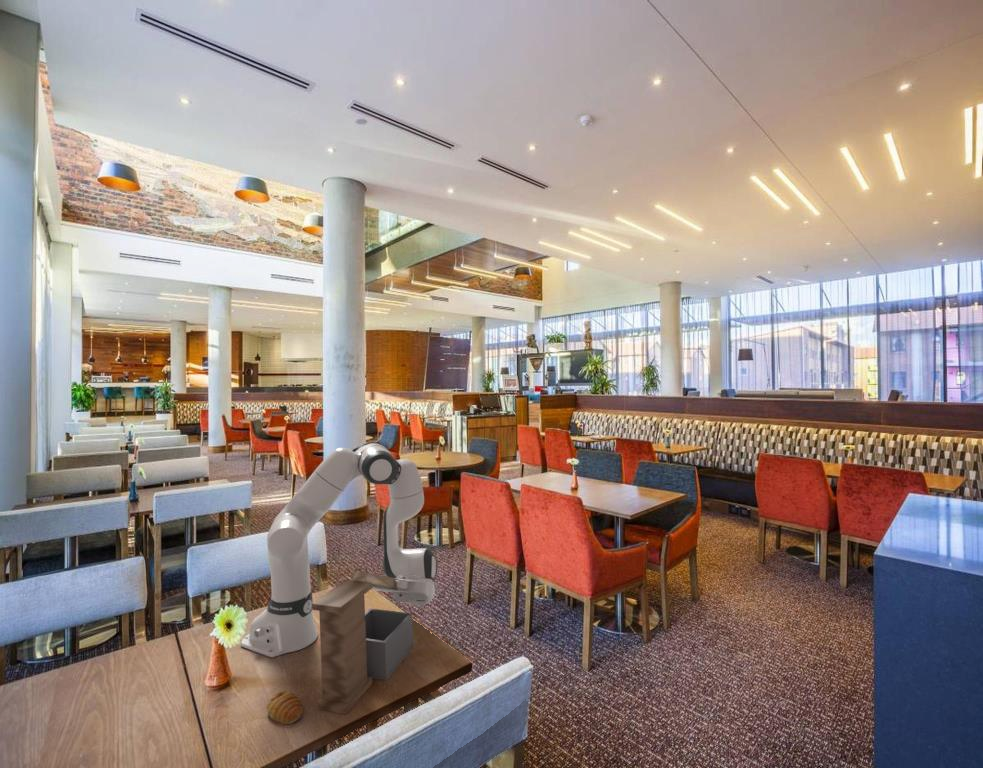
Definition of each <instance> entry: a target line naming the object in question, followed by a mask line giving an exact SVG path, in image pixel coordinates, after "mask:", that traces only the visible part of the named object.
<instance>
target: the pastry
mask: <svg viewBox="0 0 983 768" xmlns="http://www.w3.org/2000/svg"><path fill="white" fill-rule="evenodd" d="M266 709H267V710H266V712H267V715H268V717H270V718H271V720H273V721H275V722H277V723H280V724H283V725H291V724H293V723H295V722H297V721H298V720H299V719H301V717H302V715H303V712H304V710H303V705H302V704H301V701H300V698H299V697H298V696H297V695H296V694H295V693H294V692H292V691H290V692H288V691H287V690H281V691H279V692H277V693H276V694H275V695H274V696H273V697H271V698H270V700H269V702H268V703H267V705H266Z"/></svg>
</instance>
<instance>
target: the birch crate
mask: <svg viewBox="0 0 983 768" xmlns="http://www.w3.org/2000/svg"><path fill="white" fill-rule="evenodd" d="M353 572H354V573H353V577H352V580H354V581H363V582H372V587H377V588H383V589H392V590H398V587H394V581H395V580H400V579H395V578H390V577H387V576H386V575H381V574H377V573H376V574H375V573H370V572H363V571H353Z"/></svg>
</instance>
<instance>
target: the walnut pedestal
mask: <svg viewBox="0 0 983 768" xmlns="http://www.w3.org/2000/svg"><path fill="white" fill-rule="evenodd" d="M370 590H373V589H372V582H363V581H354V580H353V579H344V580H343V581H342V582H340V583H339V584H338V585H336V586H335V587H333V588H331V590H329V591H328V592H326V593H325V594H323V595H322V596H321V597H319V598H318V599H317V600H315V601H314V602H313V603H312V611H317V612H318V611H319V612H318V613H319V615H318V616H319V637H320V640H319V641H320V661H321V667H320V668H321V693H322V697H321V698H320V699H318V700H317V702H316V707H317V710H320V711H321V710H322V711H328V712H332V713H336V714H340V715H341V714H342V715H347V714H348V713H349V712H350V710H351V709H352V708H353V707H354V706H355V704H356V703H357V702H358V701H359V700H360V699H361V697H362V696H363V695H364V694H365V692H366V691H368V689H369V688H370V686H372V684H373V678H372V677H367V656H366V628H365V613H366V609H365V608H366V607H365V605H366V603H365V600H366V599H365V595H366V594H367V593H368V592H369V591H370ZM347 712H348V713H347Z"/></svg>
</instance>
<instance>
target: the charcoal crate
mask: <svg viewBox="0 0 983 768" xmlns="http://www.w3.org/2000/svg"><path fill="white" fill-rule="evenodd" d="M365 628H366V656H367V677H372V679H375V680H383V681H387V680H388V679H389V678H390V677H391V675H392V674H393V673H394V671H395V670H397V668H398V667H399V665H400V664H401V663H402V662H403V660H404V659H405V658H406V657H407V655H408V654H409V653H410V652H411V651H412V650H413V648H414V634H413V633H414V632H413V631H414V630H413V629H414V627H413V613H410V612H401V611H395V610H386V609H385V610H384V609H379V608H369V609H368V610H367V611H365Z"/></svg>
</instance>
